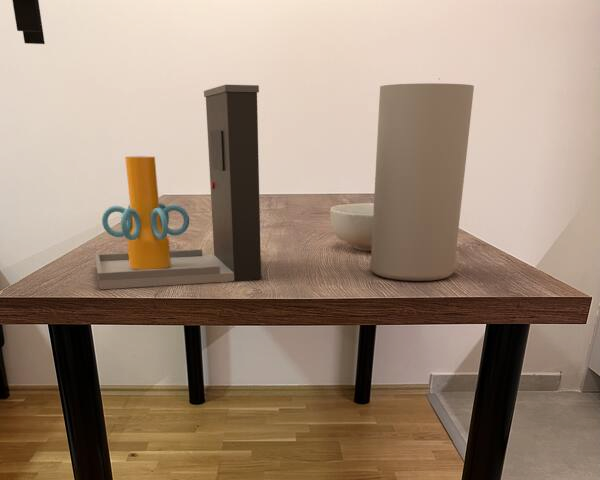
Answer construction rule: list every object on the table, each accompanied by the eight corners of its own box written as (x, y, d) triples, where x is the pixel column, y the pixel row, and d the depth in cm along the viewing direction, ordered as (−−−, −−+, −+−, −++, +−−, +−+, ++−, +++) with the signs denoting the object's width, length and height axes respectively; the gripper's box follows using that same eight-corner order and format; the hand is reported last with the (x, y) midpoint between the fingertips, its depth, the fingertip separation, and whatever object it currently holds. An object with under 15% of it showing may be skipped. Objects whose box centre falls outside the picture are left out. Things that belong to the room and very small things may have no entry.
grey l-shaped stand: (100, 289, 86) (72, 80, 75) (96, 268, 99) (72, 88, 89) (262, 279, 92) (258, 85, 82) (239, 260, 106) (232, 91, 95)
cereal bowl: (311, 246, 119) (311, 206, 116) (376, 238, 128) (378, 201, 125) (372, 259, 107) (374, 215, 104) (439, 250, 116) (443, 209, 113)
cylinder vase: (356, 268, 100) (364, 87, 89) (425, 263, 104) (441, 90, 93) (395, 284, 89) (409, 82, 79) (470, 278, 94) (493, 85, 83)
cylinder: (161, 277, 88) (150, 159, 81) (96, 272, 91) (81, 157, 84) (201, 262, 98) (194, 156, 91) (142, 257, 101) (131, 154, 94)
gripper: (27, -212, 67) (59, 26, 76) (38, -129, 88) (62, 48, 98) (-52, -223, 65) (-9, 23, 74) (-21, -136, 86) (10, 46, 96)
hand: (32, 38), depth 86 cm, fingers open, 13 cm apart
